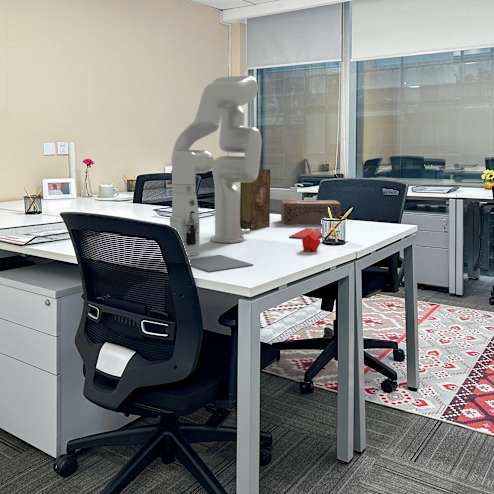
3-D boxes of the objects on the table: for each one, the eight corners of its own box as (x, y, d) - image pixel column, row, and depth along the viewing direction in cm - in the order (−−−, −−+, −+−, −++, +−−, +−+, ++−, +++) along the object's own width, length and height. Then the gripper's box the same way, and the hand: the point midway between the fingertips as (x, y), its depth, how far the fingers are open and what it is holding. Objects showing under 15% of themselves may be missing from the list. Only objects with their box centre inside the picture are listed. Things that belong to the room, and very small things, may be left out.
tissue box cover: (283, 225, 261) (283, 203, 260) (281, 220, 276) (281, 200, 274) (340, 225, 262) (340, 203, 260) (334, 221, 276) (335, 200, 274)
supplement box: (169, 253, 192) (168, 216, 190) (188, 251, 196) (188, 214, 194) (181, 257, 186) (180, 218, 184) (200, 254, 191) (200, 217, 188)
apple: (309, 232, 204) (300, 227, 197) (326, 238, 201) (317, 233, 194) (302, 251, 204) (293, 246, 197) (319, 256, 200) (310, 252, 194)
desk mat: (220, 255, 189) (220, 254, 189) (253, 265, 175) (253, 264, 175) (177, 261, 180) (177, 260, 180) (209, 272, 165) (209, 270, 165)
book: (260, 225, 259) (261, 169, 255) (271, 226, 256) (271, 169, 252) (240, 229, 246) (240, 170, 241) (250, 230, 243) (251, 170, 238)
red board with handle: (345, 230, 246) (311, 228, 252) (345, 223, 246) (311, 222, 252) (326, 242, 219) (288, 240, 225) (326, 235, 219) (288, 233, 225)
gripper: (208, 190, 183) (208, 245, 186) (180, 187, 197) (181, 238, 200) (187, 192, 178) (188, 248, 182) (160, 188, 192) (161, 240, 195)
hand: (184, 242), depth 191 cm, fingers closed on supplement box, 7 cm apart
